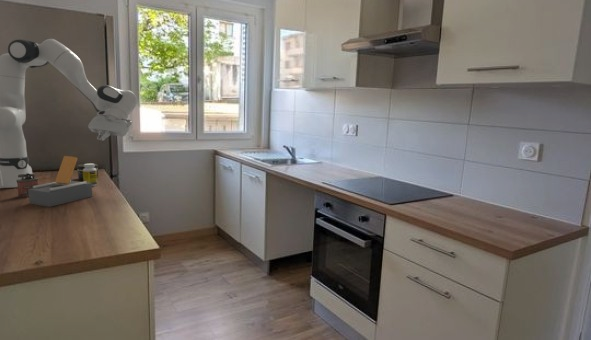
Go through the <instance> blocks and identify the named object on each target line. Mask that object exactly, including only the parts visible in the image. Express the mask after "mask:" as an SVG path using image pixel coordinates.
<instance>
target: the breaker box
mask: <svg viewBox="0 0 591 340" xmlns="http://www.w3.org/2000/svg"><path fill="white" fill-rule="evenodd" d="M92 187H93V186H92V184H91V183H87V182H86V181H85V182H83V181H75V180H72V179H70V182H69V185H68V184H61V183H56V182H55V181H53V182H47V183H42V184H38V185H36V186H33V189H28V192H29V196H28V201H29V205H30V204H31V205H36V206H41V207H42V206H43V207H48V208H50V207H55V206H59V205H62V204H67V203H70V202H75V201H79V200H80V201H81V200H84V199H86V198H87V199H88V198H91V197H93V188H92Z"/></svg>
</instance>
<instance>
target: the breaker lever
mask: <svg viewBox="0 0 591 340" xmlns="http://www.w3.org/2000/svg"><path fill="white" fill-rule="evenodd" d="M77 162H78V157H76V156H71V155H68V156H67V155H63V158H62V161H61V163H60V166H59V170H58V172H57V175H56V178H55V181H54V182H56V183H61V184H68V185H69V182H70V180H72V179H71V178H72V176H73V173H74V172H75V167H76V165H77Z"/></svg>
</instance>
